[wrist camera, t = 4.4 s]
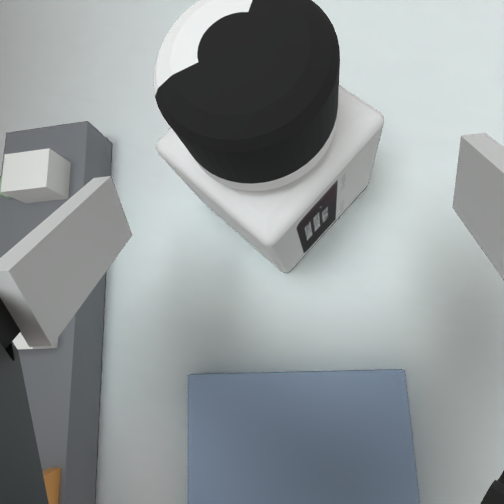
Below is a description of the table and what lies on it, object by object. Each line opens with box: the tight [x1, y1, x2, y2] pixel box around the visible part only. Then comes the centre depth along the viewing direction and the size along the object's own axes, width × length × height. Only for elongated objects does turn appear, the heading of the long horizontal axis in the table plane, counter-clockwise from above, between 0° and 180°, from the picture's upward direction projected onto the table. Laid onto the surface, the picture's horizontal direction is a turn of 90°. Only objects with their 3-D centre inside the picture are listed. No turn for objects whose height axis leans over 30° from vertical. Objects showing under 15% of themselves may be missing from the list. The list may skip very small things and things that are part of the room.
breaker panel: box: [0, 121, 112, 504], centre depth 24 cm, size 26×6×5 cm, turn 2°
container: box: [153, 0, 384, 273], centre depth 19 cm, size 8×8×13 cm
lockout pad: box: [188, 369, 420, 504], centre depth 21 cm, size 12×12×1 cm
